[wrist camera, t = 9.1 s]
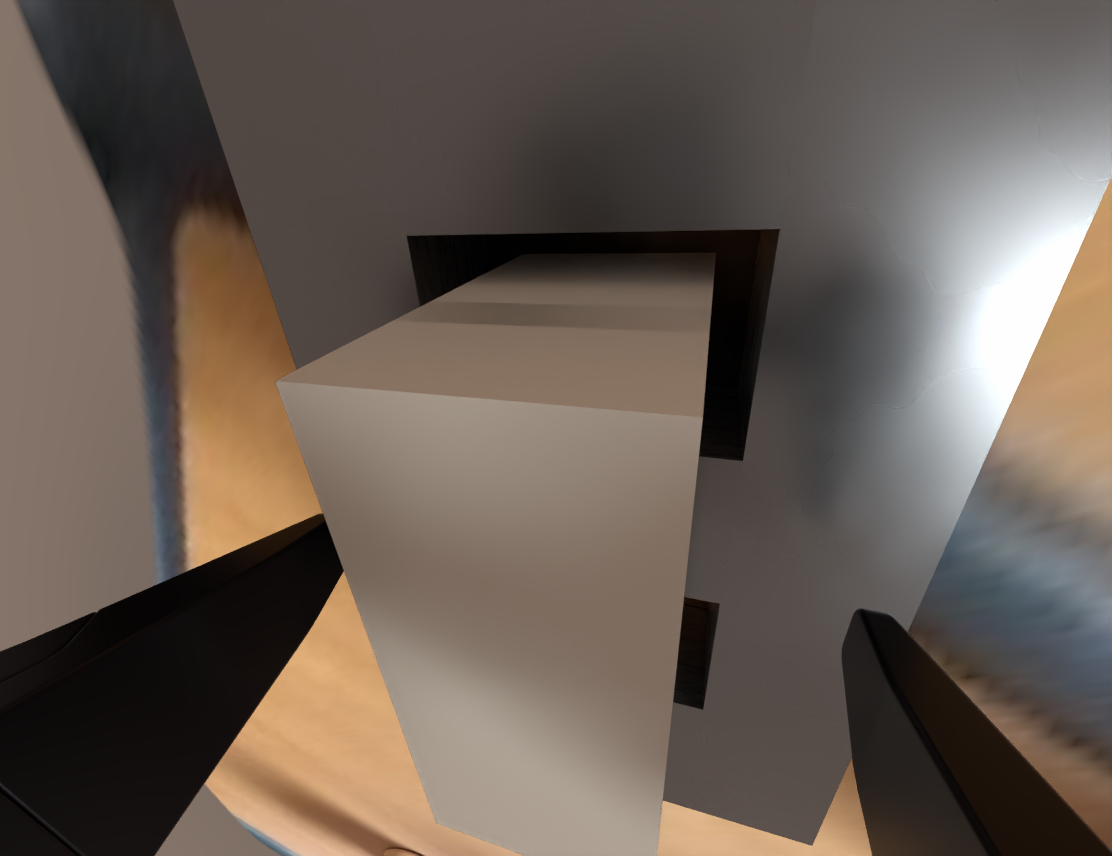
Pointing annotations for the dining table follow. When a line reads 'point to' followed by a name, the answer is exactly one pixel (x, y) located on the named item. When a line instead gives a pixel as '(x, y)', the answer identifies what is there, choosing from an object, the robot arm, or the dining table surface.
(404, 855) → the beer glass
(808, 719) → the slotted plate
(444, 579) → the block
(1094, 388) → the dining table surface
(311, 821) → the dining table surface
